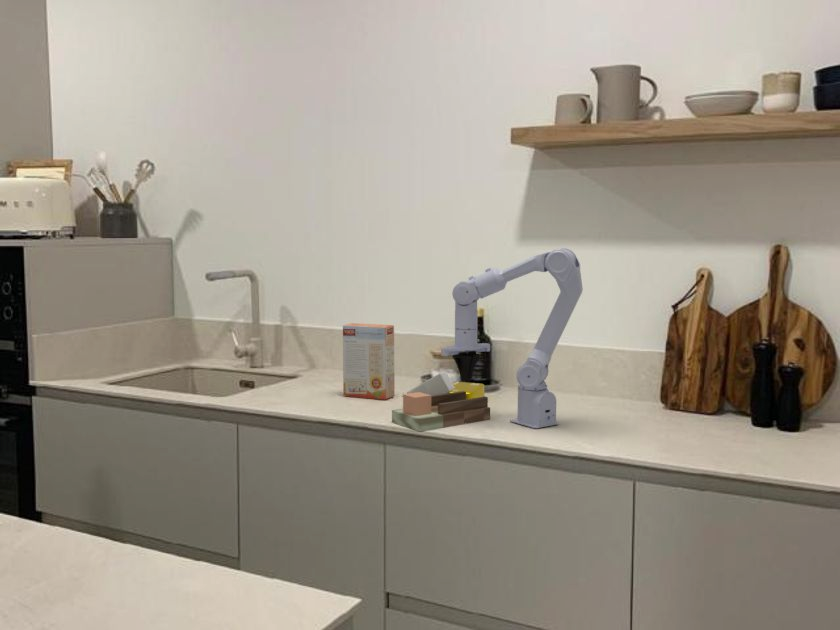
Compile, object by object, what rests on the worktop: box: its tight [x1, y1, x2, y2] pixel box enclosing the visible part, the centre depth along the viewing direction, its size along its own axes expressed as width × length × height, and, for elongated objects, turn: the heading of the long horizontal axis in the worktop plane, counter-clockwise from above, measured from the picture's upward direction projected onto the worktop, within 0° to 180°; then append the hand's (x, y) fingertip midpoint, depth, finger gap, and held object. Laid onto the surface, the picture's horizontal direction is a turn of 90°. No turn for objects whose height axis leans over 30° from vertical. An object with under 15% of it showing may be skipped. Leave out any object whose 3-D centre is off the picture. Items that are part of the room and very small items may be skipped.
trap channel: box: [391, 391, 491, 432], centre depth 210 cm, size 12×22×6 cm, turn 125°
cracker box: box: [342, 323, 395, 401], centre depth 239 cm, size 14×6×21 cm, turn 64°
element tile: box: [449, 380, 486, 399], centre depth 236 cm, size 15×15×5 cm
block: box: [402, 392, 431, 416], centre depth 206 cm, size 5×5×4 cm
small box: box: [406, 370, 455, 396], centre depth 222 cm, size 8×6×10 cm
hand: (465, 381), depth 213 cm, fingers closed
